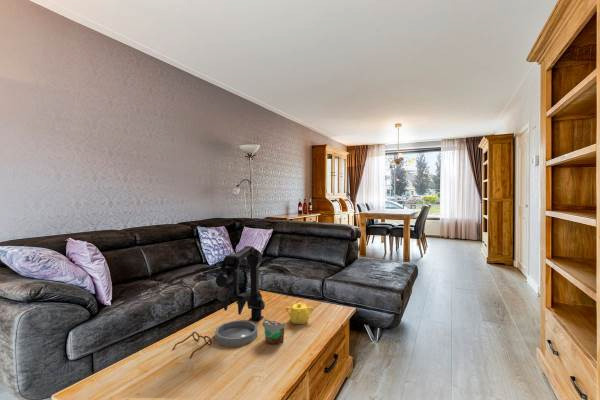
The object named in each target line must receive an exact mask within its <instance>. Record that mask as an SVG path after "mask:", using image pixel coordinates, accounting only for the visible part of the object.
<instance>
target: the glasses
mask: <svg viewBox="0 0 600 400" xmlns="http://www.w3.org/2000/svg"><path fill="white" fill-rule="evenodd" d="M195 334H196V336H197V337H198V338H196V337H195ZM191 337H192V338H193V340H194V339H195V340H194V341H196V340H197V342H199V341H200V338H202V339H204V340H203V341H204V342H205V343H204V344H203V345H201V346H200V347H198V348H196V349H194V350H193V351H192V353H191V354H190V356H189V358H190V359H192V357H193V356H194V354H195V353H196V352H198V351H199V350H201V349H203V348H204V347H205V346H206V345H207V344H208V346H211V345H212V342H213V341H212V339H211V337H210V336H208V335H205V336H203V335H200V334H199V333H198V332H197V331H192V333H191V334H190V335H189V336H187V337H186V338H185V339H183V340H182V341H178V342H176V343H175V344H174V346H173V347H172V349H171V351H172V350H173V351H174V350H175V349H176V347H177V346H178V345H179V344H182V343H184V342H186V341H187V340H188V339H190V338H191ZM206 338H207V339H208V341H207V340H206Z"/></svg>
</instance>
